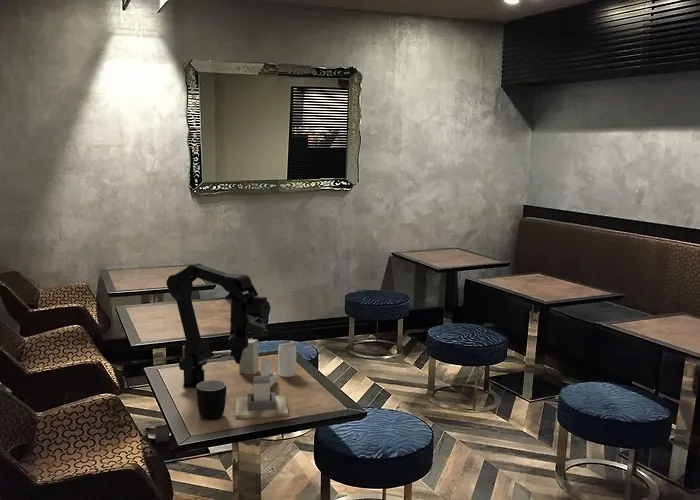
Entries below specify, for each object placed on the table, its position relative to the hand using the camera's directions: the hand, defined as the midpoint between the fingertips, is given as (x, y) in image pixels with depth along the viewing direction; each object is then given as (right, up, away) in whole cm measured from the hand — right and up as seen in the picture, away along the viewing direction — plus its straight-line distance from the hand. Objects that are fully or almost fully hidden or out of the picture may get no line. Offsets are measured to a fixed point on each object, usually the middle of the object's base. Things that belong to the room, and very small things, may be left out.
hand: (238, 358), depth 206 cm
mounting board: (+9, -14, -9) cm, 19 cm away
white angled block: (+8, -11, +12) cm, 19 cm away
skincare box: (0, -9, +23) cm, 25 cm away
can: (+14, -10, +21) cm, 27 cm away
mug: (-6, -15, -14) cm, 21 cm away
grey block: (+9, -13, -9) cm, 18 cm away
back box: (+9, -14, -9) cm, 19 cm away
